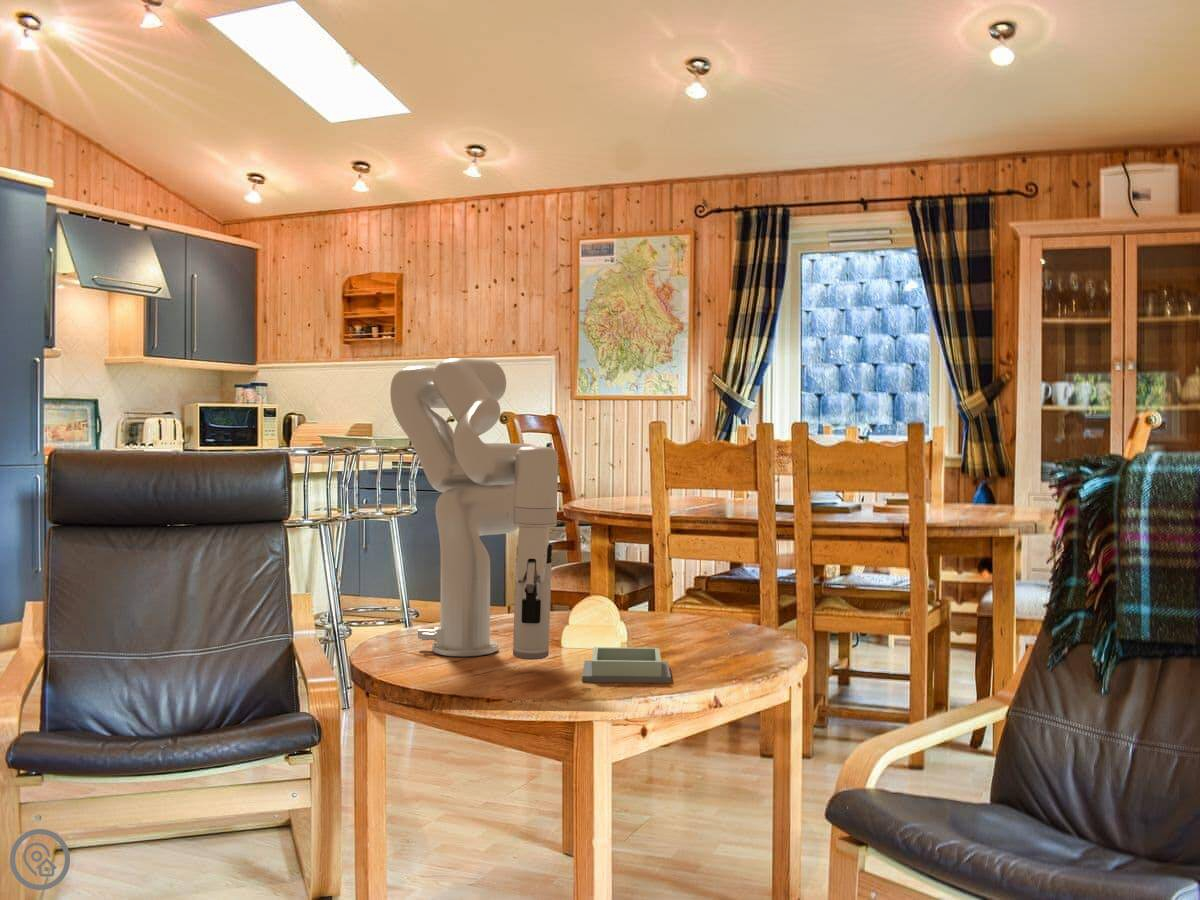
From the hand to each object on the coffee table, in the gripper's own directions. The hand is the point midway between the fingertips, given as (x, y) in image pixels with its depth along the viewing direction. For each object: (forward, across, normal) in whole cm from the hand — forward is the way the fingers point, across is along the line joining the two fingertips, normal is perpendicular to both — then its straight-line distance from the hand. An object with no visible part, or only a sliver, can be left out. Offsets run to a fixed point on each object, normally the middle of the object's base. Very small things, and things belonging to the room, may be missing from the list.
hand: (532, 617), depth 188 cm
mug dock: (+9, +1, +17) cm, 19 cm away
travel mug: (+7, 0, 0) cm, 7 cm away
